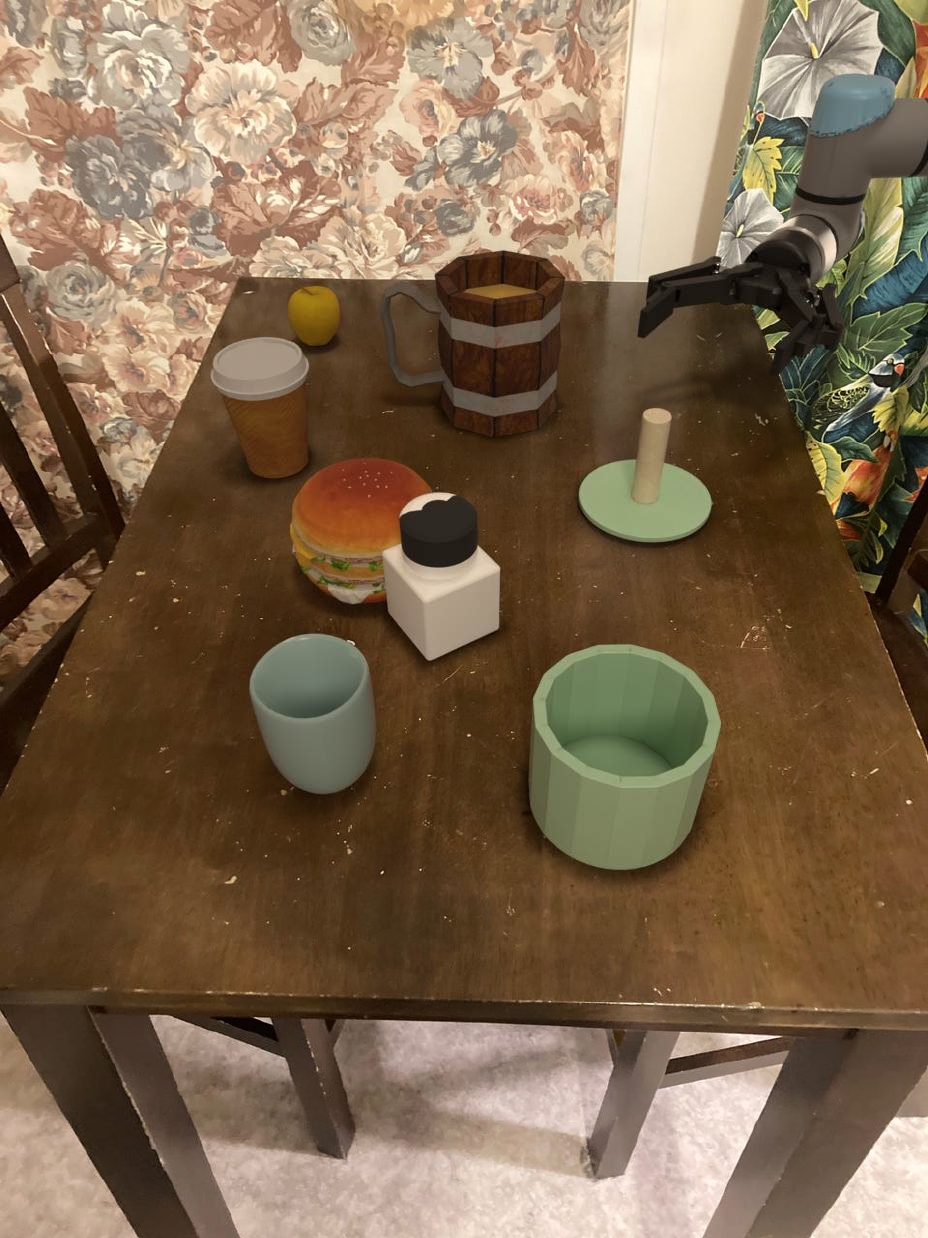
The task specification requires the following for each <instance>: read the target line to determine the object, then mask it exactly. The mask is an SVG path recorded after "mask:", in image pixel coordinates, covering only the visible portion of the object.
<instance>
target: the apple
mask: <svg viewBox="0 0 928 1238" xmlns="http://www.w3.org/2000/svg"><path fill="white" fill-rule="evenodd" d="M299 288H300V289H298V290H296V291H294V293H293V294H292V295H291V297H290V298H289V300H288V305H287V316H288V320H289V324H290V326H291V327H292V329H293V331H294V332H295V334H296V335H297V338H298V339H299V340H300V341H301V342H302V343H303V344H306V345H308V346H309V347H317V346H321V347H322V346H326V345H327V344H329V342H330V341H331V340H332V339H333V337H334V336H335V334H336V333H337V330H338V328H339V326H340V321H341V308H340V303H339V300H338V297H337V295H336V294H335V293H334V292H333V291H332V290H331V289H330V288H329V287H326V286H322V285H310V286H305V287H303V286H301V285H299Z"/></svg>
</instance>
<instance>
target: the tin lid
mask: <svg viewBox="0 0 928 1238" xmlns="http://www.w3.org/2000/svg"><path fill="white" fill-rule="evenodd" d="M672 418H673V416H672V414H671V412H670V411H668V410H666V409H663V408H659V407H652V408H648V409H645V410H644V411H643V413H642V417H641V423H640V430H639V436H638V437H639V439H638V444H637V453H636V458H635V459H624V460H617V461H613V462H610V463H606V464H604V465H601V466H599V467H597V468H596V469H594V470H592V471H591V472H589V473H588V474H587V475H586V477H584V478H583V481H582V482H581V483H580V486H579V490H578V504H579V508H580V510H581V512H582V513H583V515H584V516H585V518H587V520H588V521H589V522H590V523H592V525H594V526H595V527H597V528H598V529H600V530H602V531H603V532H605V533H607V534H610V535H612V536H615V537H617V538H620V539H624V540H626V541H627V540H628V541H634V542H640V543H665V542H671V541H672V542H673V541H676V540H680V539H683V538H685V537H688V536H690V535H692V534H694V533H695V532H697V531H698V530H700V529H701V528H702V527H703V526H704V525H705V524H706V522H707V521H708V519H709V517H710V515H711V510H712V497H711V494H710V491H709V490H708V488H707V487H706V486H705V484H704V483H703V482H702V481H701V480H700V479H699V478H698V477H696V476H695V475H694V474H692V473H691V472H689V471H687V470H685V469H684V468H681V467H679V466H676V465H674V464H670V463H666V462H665V460H666V453H667V449H668V442H669V437H670V431H671V425H672V420H673V419H672Z"/></svg>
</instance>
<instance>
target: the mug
mask: <svg viewBox="0 0 928 1238" xmlns="http://www.w3.org/2000/svg"><path fill="white" fill-rule="evenodd" d="M434 281H435V287H436V294H437V300H436V299H431V297H429V296H427V295H426V293H424V292H423V290H421V288H420V287H418V286H417V285H415V284H412V283H409V282H407V281H403V280H401V281H399V282H397V283H394V284H392V285H390V286H387V287H386V288H385V289H384V290H383V294H382V297H381V302H380V306H379V316H380V321H381V325H382V329H383V330H382V331H383V335H384V344H385V351H386V352H385V353H386V357H387V364H388V369H389V371H390V373H391V374H392V376H393V378H394V379H395V381H396V383H397V384H400V385H403V386H406V387H408V388H410V389H415V388H418V387H423V386H428V385H429V386H430V385H436V384H441V391H440V405H441V408H442V409H443V411H444V413H445V415H446V416H447V418H448V420H449V422H450V424H451V426H452V427H454V428H457V429H462V430H465V431H469V432H472V433H476V434H479V435H483V436H487V437H491V438H499V437H505V436H511V435H515V434H521V433H527V432H532V431H537V430H540V429H541V427H542V426H543V425H544V424H545V423H546V422H547V420H548V419H549V418H550V417H551V416H552V415H553V413H554V412H555V411H556V409H558V395H557V381H558V368H559V367H558V366H559V360H560V353H561V347H562V344H561V343H562V342H561V341H562V340H561V309H562V298H563V293H564V287H565V282H566V276H565V275H564V274H563V273H562V272H561V271H560V270H559V269H558V268H557V267H556V265H554V264H553V262H552V261H551V260H550V259H549V258H547V257H543V256H537V255H531V254H527V253H521V252H515V251H509V250H504V249H502V250H496V251H488V252H482V253H481V252H480V253H474V254H467V255H461V256H457V257H455V258H454V259H453V260H451V261H450V262H449V263H448V264H446V265H445V266H444V267H443V268H441V269H440V270H438V271H437V272H436V273H434ZM398 295H403V296H404V297H407V298H410V299H411V300H413V302H414V303H415V304H416V305H417V306H418V307H419V308H420V309H422V310H423V311H424V312H426V313H427V314H434V315H438V329H437V330H438V331H437V347H438V353H439V361H440V366H441V367H440V368H441V369H437V370H430V371H424V372H421V373H418V374H415V375H413V374H411V373H408V372H405V371H404V370H403V368H402V366H401V364H400V362H399V360H398V353H397V342H396V331H395V327H394V323H393V318H392V314H391V302H392V301H391V300H392V298H393V297H396V296H398Z"/></svg>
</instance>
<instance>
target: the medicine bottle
mask: <svg viewBox="0 0 928 1238" xmlns="http://www.w3.org/2000/svg"><path fill="white" fill-rule="evenodd" d="M478 518H479V515H478V511H477V510H476V508H475V506H474V505H473V504H472V503H471V502H470V501H468V499H466V498H464V497H462V496H460V495H458V494H455V493H450V492H432V493H429V494H425V495H422V496H419V497H417V498H415V499H413V500H412V501H410V502H409V503H408V504H407V505H406V506H405V507H404V508H403V510H402V511H401V513H400V517H399V523H400V534H401V544H399V545H396V546H394V547H391V548H389V549H386V550H384V551H383V553H382V559H383V568H384V577H385V586H386V595H387V600H386V604H387V612H388V614H389V615H390V616H391V617H392V619H393V620H394V621H395V623H396V624H397V625H398V626H399V628H401V630H402V631H403V632H404V633H405V635H406V636H407V638H409V640H410V641H411V642H412V643H413V644H414V645H415V647H416V648H417V649H418V650H419V652H420V653H421V654H422V655H423V657H424V658H425V659H426V660H427V661H430V662H431V661H433V660H436V659H438V658H440V657H442V656H444V655H446V654H449V653H451V652H453V651H455V650H457V649H459V648H461V647H463V646H466V645H468V644H470V643H472V642H474V641H476V640H479V639H481V638H483V637H486V636H487V635H490V634H491V633H494V632H495V631H498V630H499V628H500V619H501V618H500V613H501V611H500V610H501V609H500V608H501V607H500V606H501V605H500V604H501V566H500V565H499V564H498V563H496V562H495V560H494V559H493V558H492V557H491V556H489V555H488V553H487V552H485V550H484V549H482V547H481V546H480V545H479V527H478V526H479V519H478Z"/></svg>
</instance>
